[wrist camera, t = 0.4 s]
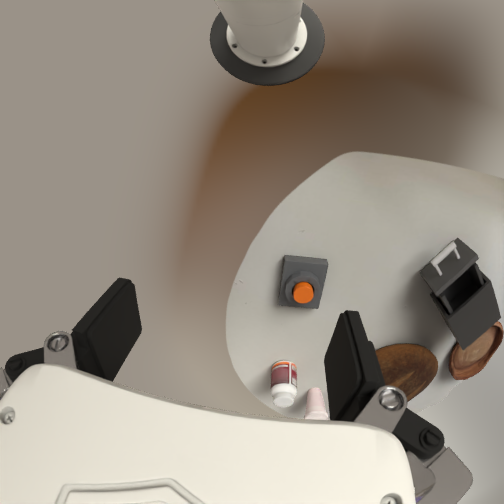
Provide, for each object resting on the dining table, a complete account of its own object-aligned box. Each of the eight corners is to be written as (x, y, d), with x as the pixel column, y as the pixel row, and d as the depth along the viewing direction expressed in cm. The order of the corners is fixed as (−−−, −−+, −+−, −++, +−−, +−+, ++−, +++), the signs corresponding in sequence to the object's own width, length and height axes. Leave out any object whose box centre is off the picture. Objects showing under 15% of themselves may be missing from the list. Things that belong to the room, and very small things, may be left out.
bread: (320, 385, 67) (322, 411, 59) (395, 322, 55) (406, 348, 48) (382, 408, 71) (387, 429, 63) (447, 357, 60) (458, 379, 52)
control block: (284, 254, 51) (284, 265, 47) (326, 259, 50) (329, 269, 47) (278, 298, 55) (278, 310, 52) (317, 302, 55) (319, 314, 51)
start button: (294, 280, 49) (295, 286, 47) (314, 282, 49) (315, 287, 47) (291, 297, 51) (292, 302, 49) (310, 298, 50) (311, 304, 49)
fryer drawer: (410, 259, 48) (426, 279, 41) (450, 222, 43) (470, 238, 36) (440, 307, 52) (454, 328, 45) (474, 277, 47) (491, 295, 40)
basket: (463, 319, 54) (471, 331, 49) (508, 309, 51) (516, 319, 47) (437, 375, 63) (442, 386, 59) (481, 362, 61) (487, 372, 56)
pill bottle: (267, 370, 65) (264, 405, 56) (278, 356, 63) (276, 392, 53) (289, 376, 66) (289, 411, 56) (301, 363, 63) (302, 398, 53)
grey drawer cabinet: (429, 294, 51) (447, 320, 43) (468, 259, 47) (490, 281, 38) (448, 326, 55) (462, 351, 46) (482, 295, 50) (500, 317, 42)
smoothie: (299, 389, 68) (299, 431, 56) (320, 382, 66) (323, 425, 53) (309, 399, 70) (310, 440, 57) (329, 392, 68) (333, 433, 55)
